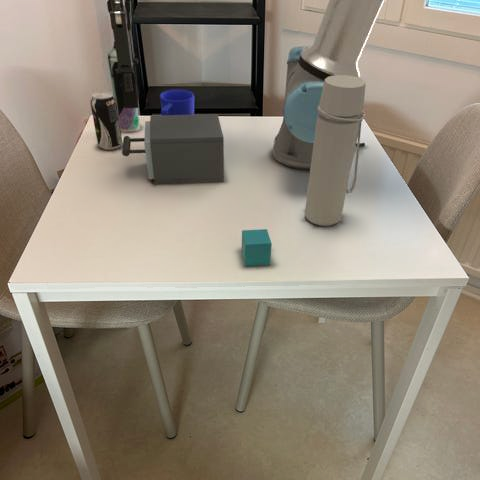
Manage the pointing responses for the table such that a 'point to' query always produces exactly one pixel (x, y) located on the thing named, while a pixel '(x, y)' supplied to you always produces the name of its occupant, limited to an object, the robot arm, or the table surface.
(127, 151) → the drawer
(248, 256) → the cube
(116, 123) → the beverage can
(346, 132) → the water bottle
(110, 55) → the spray can
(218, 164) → the grey drawer cabinet
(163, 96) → the mug
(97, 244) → the table surface
